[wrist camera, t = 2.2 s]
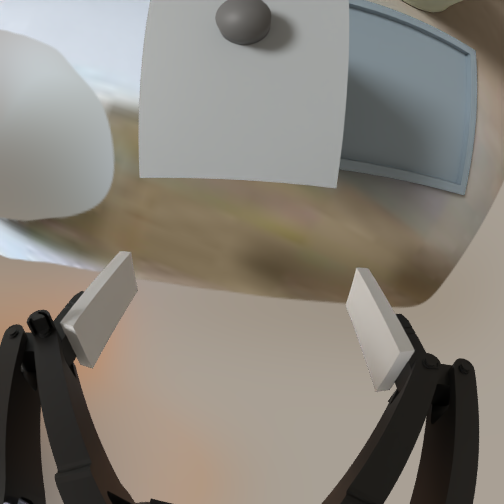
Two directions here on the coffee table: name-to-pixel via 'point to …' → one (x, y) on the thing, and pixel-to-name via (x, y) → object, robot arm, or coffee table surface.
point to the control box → (244, 90)
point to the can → (431, 4)
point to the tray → (408, 100)
